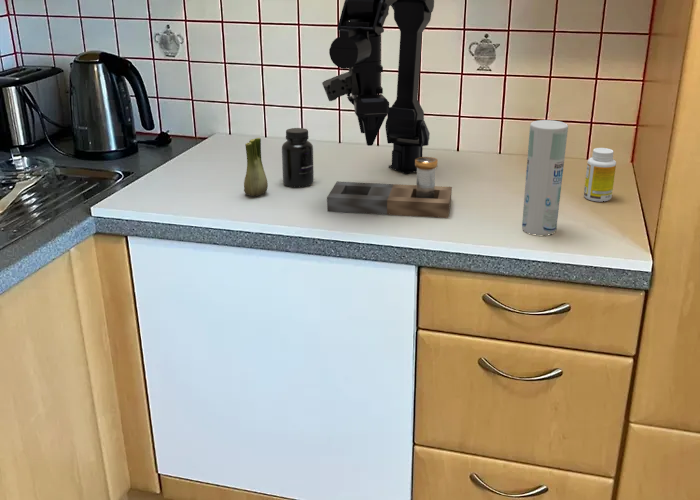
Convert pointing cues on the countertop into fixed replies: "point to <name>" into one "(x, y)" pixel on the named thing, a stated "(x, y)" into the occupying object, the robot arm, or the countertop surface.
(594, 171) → the supplement bottle
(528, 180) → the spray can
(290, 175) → the supplement bottle
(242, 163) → the countertop surface
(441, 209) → the pin dock plate
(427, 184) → the lock pin
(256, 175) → the fennel bulb
